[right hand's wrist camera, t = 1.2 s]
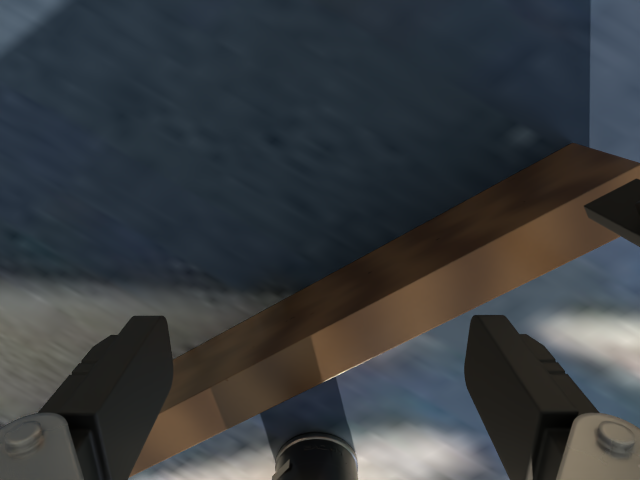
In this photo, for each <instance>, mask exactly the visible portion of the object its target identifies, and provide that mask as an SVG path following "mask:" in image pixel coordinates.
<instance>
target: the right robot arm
mask: <svg viewBox="0 0 640 480" xmlns="http://www.w3.org/2000/svg"><path fill="white" fill-rule="evenodd" d="M464 374H465V381H466V386H467V389H468V391H469V393H470V396H471V398H472V400H473V402H474V404H475V406H476V408H477V410H478V413H479V415H480V417H481V419H482V421H483V423H484V425H485V427H486V430H487V432H488V434H489V436H490V438H491V440H492V442H493V444H494V447H495V449H496V451H497V453H498V455H499V457H500V459H501V461H502V464H503V466H504V468H505V470H506V472H507V474H508V476H509V479H510V480H640V429H639V428H638V427H636V426H634V425H633V424H631V423H629V422H627V421H625V420H623V419H620V418H618V417H615V416H612V415H607V414H602V413H599V412H598V410H597V409H596V408H595V407H594V406H593V404H592V403H591V402H590V401H589V400H588V398H587V397H586V396H585V395H584V394H583V392H582V391H581V390H580V389H579V387H578V386H577V385H576V384H575V383H574V381H573V380H572V379H571V378H570V377H569V375H568V374H565V371H564V369H563V368H562V367H561V366H560V365H559V363H558V362H556V361H555V358H554V357H553V356H552V355H551V354H550V352H549V351H548V350H547V349H546V348H545V346H543V345H542V344H540V343H539V342H537V341H536V340H534V339H533V338H531V337H530V336H528V335H527V334H519V333H518V332H517V331H516V329H515V328H514V327H513V325H512V324H511V323H510V321H509V320H508V319H507V318H506V317H505V316H504V315H474V316H473V317H472V319H471V322H470V329H469V336H468V343H467V351H466V358H465V366H464ZM172 381H173V360H172V353H171V346H170V339H169V332H168V325H167V321H166V318H165V317H164V316H133V317H132V318H131V319H130V320H129V321H128V323H127V324H126V325H125V327H124V328H123V329H122V330H121V332H120V333H119V334H118V335H110V336H109V337H107V338H106V339H104V340H103V341H101V342H100V343H98V344H97V345H95V346H94V347H93V348H92V349H91V350H90V351H89V352H88V354H87V355H86V356H85V357H84V358H83V360H82V363H79V364H78V366H77V367H76V368H75V369H74V370H73V371H72V375H69V376H68V377H67V379H66V380H65V381H64V382H63V383H62V385H61V386H60V387H59V388H58V389H57V391H56V392H55V393H54V394H53V395H52V397H51V398H50V399H49V400H48V401H47V403H46V404H45V405H44V406H43V407H42V409H41V410H40V411H39V412H38V413H37V414H33V415H29V416H25V417H22V418H20V419H17V420H15V421H13V422H11V423H9V424H7V425H6V426H4V427H2V428H1V429H0V480H128V478H129V476H130V474H131V472H132V469H133V467H134V465H135V463H136V461H137V459H138V457H139V455H140V453H141V451H142V448H143V446H144V444H145V442H146V440H147V438H148V436H149V434H150V432H151V429H152V427H153V425H154V423H155V421H156V419H157V417H158V415H159V413H160V411H161V408H162V406H163V404H164V402H165V400H166V398H167V396H168V394H169V392H170V389H171V386H172ZM275 471H276V473H275V474H274V475H273V476H272V480H358V474H357V472H358V464H357V457H356V454H355V452H354V451H353V449H352V448H351V446H350V445H349V444H347V443H346V442H345V441H343V440H342V439H340V438H338V437H336V436H333V435H330V434H325V433H308V434H303V435H300V436H297V437H295V438H293V439H291V440H289V441H288V442H287V443H286V444H284V445H283V447H282V448H281V449H280V451H279V452H278V455H277V458H276V466H275Z"/></svg>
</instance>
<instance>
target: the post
mask: <svg viewBox="0 0 640 480" xmlns="http://www.w3.org/2000/svg"><path fill="white" fill-rule="evenodd" d="M636 178H637V179H639V180H640V163H638V162H635V161H632V160H628V159H625V158H622V157H618V156H615V155H612V154H608V153H605V152H602V151H598V150H595V149H592V148H589V147H585V146H582V145H579V144H575V143H571V144H569V145H567V146H566V147H564V148H562V149H560V150H558V151H556V152H555V153H553V154H551V155H549V156H547V157H545V158H544V159H542V160H540V161H538V162H536V163H534V164H533V165H531V166H529V167H527V168H525V169H523V170H521V171H520V172H518V173H516V174H514V175H512V176H510V177H509V178H507V179H505V180H503V181H501V182H499V183H498V184H496V185H494V186H492V187H490V188H488V189H487V190H485V191H483V192H481V193H479V194H477V195H475V196H474V197H472V198H470V199H468V200H466V201H464V202H463V203H461V204H459V205H457V206H455V207H453V208H452V209H450V210H448V211H446V212H444V213H442V214H441V215H439V216H437V217H435V218H433V219H431V220H429V221H428V222H426V223H424V224H422V225H420V226H418V227H417V228H415V229H413V230H411V231H409V232H407V233H406V234H404V235H402V236H400V237H398V238H396V239H395V240H393V241H391V242H389V243H387V244H385V245H383V246H382V247H380V248H378V249H376V250H374V251H372V252H371V253H369V254H367V255H365V256H363V257H361V258H360V259H358V260H356V261H354V262H352V263H350V264H349V265H347V266H345V267H343V268H341V269H339V270H337V271H336V272H334V273H332V274H330V275H328V276H326V277H325V278H323V279H321V280H319V281H317V282H315V283H314V284H312V285H310V286H308V287H306V288H304V289H303V290H301V291H299V292H297V293H295V294H293V295H291V296H290V297H288V298H286V299H284V300H282V301H280V302H279V303H277V304H275V305H273V306H271V307H269V308H268V309H266V310H264V311H262V312H260V313H258V314H256V315H255V316H253V317H251V318H249V319H247V320H245V321H244V322H242V323H240V324H238V325H236V326H234V327H233V328H231V329H229V330H227V331H225V332H223V333H222V334H220V335H218V336H216V337H214V338H212V339H210V340H209V341H207V342H205V343H203V344H201V345H199V346H198V347H196V348H194V349H192V350H190V351H188V352H187V353H185V354H183V355H181V356H179V357H177V358H176V359H174V360H173V381H172V386H171V389H170V392H169V394H168V396H167V398H166V400H165V402H164V404H163V406H162V408H161V411H160V413H159V415H158V417H157V419H156V421H155V423H154V425H153V427H152V429H151V432H150V434H149V436H148V438H147V440H146V442H145V444H144V446H143V448H142V451H141V453H140V455H139V457H138V459H137V461H136V463H135V465H134V467H133V469H132V472H131V474H130V476H129V477H131V476H133V475H135V474H137V473H139V472H141V471H143V470H145V469H147V468H149V467H151V466H153V465H155V464H157V463H159V462H161V461H163V460H165V459H168V458H170V457H172V456H174V455H176V454H178V453H180V452H182V451H184V450H186V449H188V448H190V447H192V446H194V445H196V444H198V443H200V442H202V441H204V440H206V439H208V438H210V437H212V436H214V435H216V434H219V433H221V432H223V431H225V430H227V429H229V428H231V427H233V426H235V425H237V424H239V423H241V422H243V421H245V420H247V419H249V418H251V417H253V416H255V415H257V414H259V413H261V412H263V411H265V410H267V409H270V408H272V407H274V406H276V405H278V404H280V403H282V402H284V401H286V400H288V399H290V398H292V397H294V396H296V395H298V394H300V393H302V392H304V391H306V390H308V389H310V388H312V387H314V386H316V385H318V384H321V383H323V382H325V381H327V380H329V379H331V378H333V377H335V376H337V375H339V374H341V373H343V372H345V371H347V370H349V369H351V368H353V367H355V366H357V365H359V364H361V363H363V362H365V361H367V360H369V359H372V358H374V357H376V356H378V355H380V354H382V353H384V352H386V351H388V350H390V349H392V348H394V347H396V346H398V345H400V344H402V343H404V342H406V341H408V340H410V339H412V338H414V337H416V336H418V335H420V334H423V333H425V332H427V331H429V330H431V329H433V328H435V327H437V326H439V325H441V324H443V323H445V322H447V321H449V320H451V319H453V318H455V317H457V316H459V315H461V314H463V313H465V312H467V311H469V310H471V309H474V308H476V307H478V306H480V305H482V304H484V303H486V302H488V301H490V300H492V299H494V298H496V297H498V296H500V295H502V294H504V293H506V292H508V291H510V290H512V289H514V288H516V287H518V286H520V285H522V284H525V283H527V282H529V281H531V280H533V279H535V278H537V277H539V276H541V275H543V274H545V273H547V272H549V271H551V270H553V269H555V268H557V267H559V266H561V265H563V264H565V263H567V262H569V261H571V260H573V259H576V258H578V257H580V256H582V255H584V254H586V253H588V252H590V251H592V250H594V249H596V248H598V247H600V246H602V245H604V244H606V243H608V242H610V241H612V240H614V239H616V238H618V237H620V235H618V234H616V233H614V232H613V231H611V230H609V229H607V228H606V227H604V226H602V225H600V224H599V223H597V222H595V221H593V220H591V219H590V218H588V216H587V213H586V211H585V208H584V205H586V204H588V203H590V202H592V201H594V200H596V199H598V198H599V197H601V196H603V195H605V194H607V193H609V192H611V191H613V190H615V189H617V188H619V187H621V186H623V185H625V184H627V183H629V182H631V181H633V180H634V179H636Z"/></svg>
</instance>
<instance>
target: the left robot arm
mask: <svg viewBox="0 0 640 480" xmlns="http://www.w3.org/2000/svg"><path fill="white" fill-rule="evenodd" d="M584 208H585V211H586V213H587V216H588V218H590V219H591V220H593V221H595V222H597V223H599V224H600V225H602V226H604V227H606V228H607V229H609V230H611V231H613V232H614V233H616V234H618V235H620V236H621V237H623V238H625V239H627V240H628V241H630V242H632V243H634V244H636V245H637V246H639V247H640V180H639V179H637V178H636V179H634V180H633V181H631V182H629V183H627V184H625V185H623V186H621V187H619V188H617V189H615V190H613V191H611V192H609V193H607V194H605V195H603V196H601V197H599V198H598V199H596V200H594V201H592V202H590V203H588V204H586V205H584Z"/></svg>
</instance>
